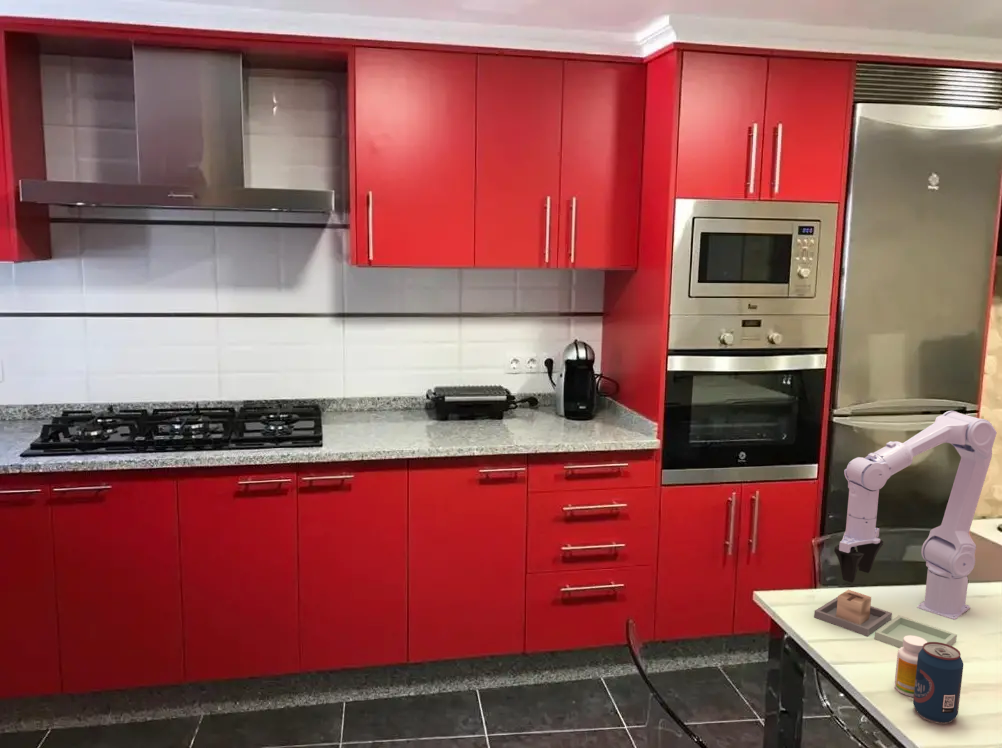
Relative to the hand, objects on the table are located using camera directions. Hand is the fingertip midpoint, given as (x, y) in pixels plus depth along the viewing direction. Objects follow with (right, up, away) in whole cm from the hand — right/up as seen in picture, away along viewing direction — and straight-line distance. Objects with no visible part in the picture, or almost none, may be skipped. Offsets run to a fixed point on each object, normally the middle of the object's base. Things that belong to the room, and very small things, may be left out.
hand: (856, 576), depth 179 cm
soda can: (-1, -16, -34) cm, 37 cm away
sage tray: (+9, -11, -8) cm, 16 cm away
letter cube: (0, -9, +2) cm, 10 cm away
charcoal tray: (0, -10, +2) cm, 10 cm away
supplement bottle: (-1, -15, -26) cm, 30 cm away
